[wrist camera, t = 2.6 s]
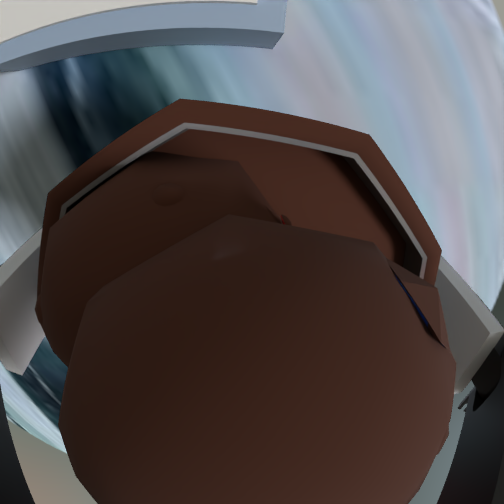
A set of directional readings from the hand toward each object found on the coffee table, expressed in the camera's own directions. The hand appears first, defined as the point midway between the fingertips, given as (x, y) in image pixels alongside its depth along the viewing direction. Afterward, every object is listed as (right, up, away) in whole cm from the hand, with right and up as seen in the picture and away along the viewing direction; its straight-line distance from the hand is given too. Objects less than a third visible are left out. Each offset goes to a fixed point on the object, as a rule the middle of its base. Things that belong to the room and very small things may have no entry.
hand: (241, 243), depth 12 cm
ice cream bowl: (0, +2, +4) cm, 5 cm away
